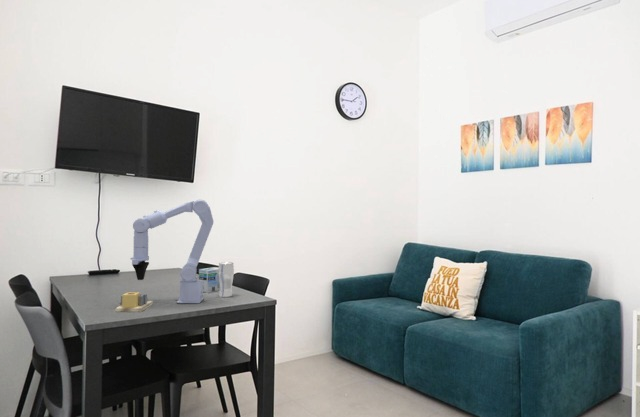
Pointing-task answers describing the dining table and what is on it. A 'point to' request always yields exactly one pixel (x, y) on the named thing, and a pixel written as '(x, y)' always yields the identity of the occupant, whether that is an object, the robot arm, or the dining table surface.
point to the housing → (140, 299)
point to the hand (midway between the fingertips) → (140, 279)
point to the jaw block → (130, 300)
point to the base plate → (137, 309)
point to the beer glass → (225, 278)
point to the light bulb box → (209, 279)
